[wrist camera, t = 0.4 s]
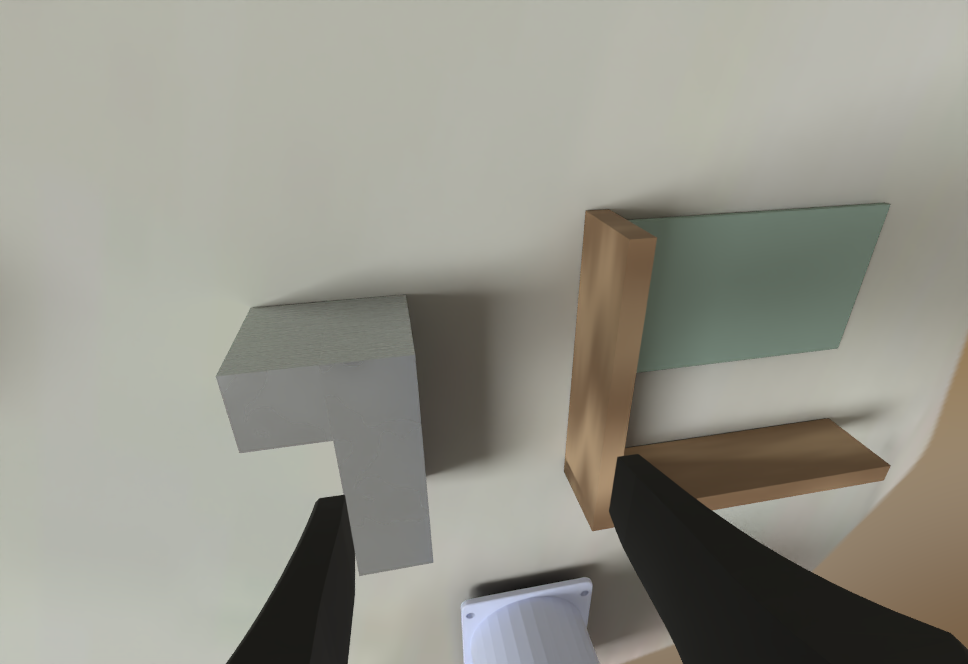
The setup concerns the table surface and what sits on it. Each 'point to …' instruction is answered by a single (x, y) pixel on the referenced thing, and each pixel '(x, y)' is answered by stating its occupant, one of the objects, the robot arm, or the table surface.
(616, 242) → the brown wooden l-shaped piece
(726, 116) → the table surface
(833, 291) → the pad
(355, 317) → the bracket
